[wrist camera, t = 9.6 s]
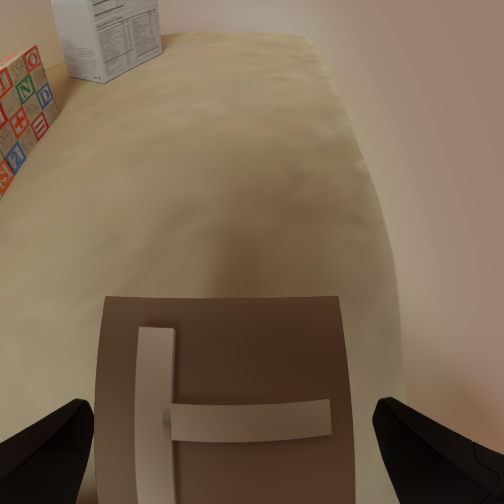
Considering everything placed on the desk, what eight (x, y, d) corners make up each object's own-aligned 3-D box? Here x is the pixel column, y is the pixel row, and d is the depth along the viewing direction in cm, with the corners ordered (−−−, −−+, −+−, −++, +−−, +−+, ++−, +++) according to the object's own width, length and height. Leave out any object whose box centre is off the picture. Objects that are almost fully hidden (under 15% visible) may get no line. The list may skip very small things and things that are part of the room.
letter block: (277, 452, 14) (358, 524, 3) (188, 453, 14) (96, 520, 3) (273, 372, 16) (341, 292, 6) (188, 373, 16) (102, 292, 6)
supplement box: (165, 53, 41) (158, -34, 26) (104, 85, 35) (84, -15, 20) (121, 48, 44) (111, -25, 29) (67, 77, 38) (48, -2, 23)
